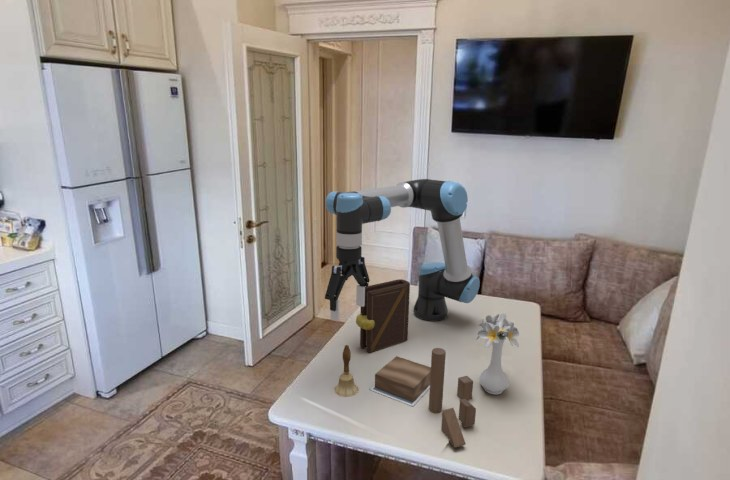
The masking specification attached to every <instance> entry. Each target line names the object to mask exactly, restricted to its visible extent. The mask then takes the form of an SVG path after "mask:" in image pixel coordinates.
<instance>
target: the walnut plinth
mask: <svg viewBox="0 0 730 480" xmlns="http://www.w3.org/2000/svg"><path fill="white" fill-rule="evenodd" d="M430 375H431V366H428V365H425V364H422V363H419V362H415V361H413V360H410V359H406V358H403V357H400V356H398V355H396V356H395V357H394V358H392V359H391V360H389V362H388V363H386V364H385V365H384V366H382V367H381V368H380V369H379V370H378V371H377V372H376V373H375V374H374V385H375V388H377V389H379V390H382V391H385V392H387V393H390V394H392V395H395V396H398V397H400V398H403V399H405V400H408V401H411V402H414V401H415V400H416V399H417V398H418V397H419V396H420V395H421V394H422V392H423V391H424V390H425V389H426V388H427V387H428V386H429V385H430Z"/></svg>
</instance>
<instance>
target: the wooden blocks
mask: <svg viewBox="0 0 730 480" xmlns="http://www.w3.org/2000/svg"><path fill="white" fill-rule="evenodd" d="M446 353H447V351H446V350H445V349H444V348H441V347H434V348H433V349H432V350H431V360H430V367H431V375H430V389H429V393H428V394H429V396H428V410H429V412H431V413H434V414H440V413H441V412H442V414H441V415H442V416H441V426H440V428H441V429H440V430H441V432H442V433H443V434H444V435H445V436H446V437H447V439H448V442H449V443H450V444H451V445H452V446H453V447H454V448H459V447H461V446H466V440H465V437H464V435H463V432H462V429H461V425H460V423H459V421H460V422H461V424H462V426H463V427H464V428H469V427H471V426H474V425H475V424H476V423H475V422H476V410H477V408H476V407H475V406H474V405H473V404H472V403H470V402H469V400H472V399H473V388H474V380H473V379H472V378H470V377H469V376H468V375H464V376H460V377H458V378H457V391H456V396H457V397H458V398H459V405H458V406H459V407H458V408H459V409H458V418H457V413H456V412H455V411H456V410H455V409H454V407H450V408H446V409H443V397H444V384H445V382H444V381H445V371H446V370H445V367H446Z"/></svg>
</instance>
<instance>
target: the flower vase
mask: <svg viewBox="0 0 730 480" xmlns="http://www.w3.org/2000/svg"><path fill="white" fill-rule="evenodd" d="M485 321H486V322H485ZM485 321H484V319H481V322H480V323H479V324H478V327H480V329H479V330H478V332H477V335H478V336H477V338H476V340H475V341H478V340H479V339H482V340H486V341H485V343H484V345H485V346H484V347H485V348H486V349H487V348H489V347H490V346H491V345H492V347H491V358H490V363H489V365H488V367H487V368H486V369H484V370H483V371H481V372H480V375H479V378H478V379H479V383H480V385H481V387H483V390H484V391H485V392H486V393H488V394H490V395H493V396H494V395H497V396H498V395H501V394H502V393H503V392H504V391H505V390H506V389H507V388H509V385H510V380H509V377H508V376H507V374H506V372H505V371H504V370H503V367H502V355H503V354H502V353H503V346H504V343H505V340H506V339H508V341H509V343H510V345H511V347H513V346H514V345H515V346H516V347H517V348H518V347H519V342H518V340H517V337H519V335H520V332H519V329H518V328H517V327H515V323H514V322H513V321H508V319H507V314H506V313H504V312H502V313H501V314H499V313H498V314H496V315H495V316H491V315H489V314H488V315H486V317H485Z"/></svg>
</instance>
